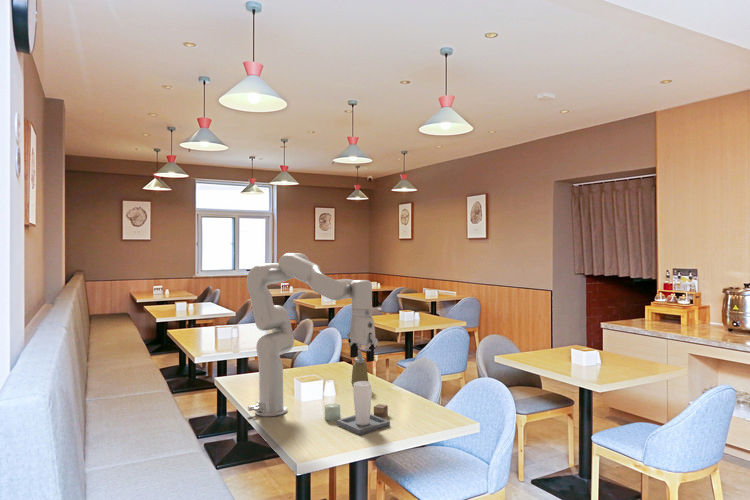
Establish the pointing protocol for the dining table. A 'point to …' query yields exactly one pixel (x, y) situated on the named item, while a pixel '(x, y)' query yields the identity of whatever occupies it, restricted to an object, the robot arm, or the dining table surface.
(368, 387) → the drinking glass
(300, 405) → the dining table surface
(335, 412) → the pale green rounded cylinder
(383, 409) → the walnut block
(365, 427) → the slate tray
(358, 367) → the squeeze bottle
